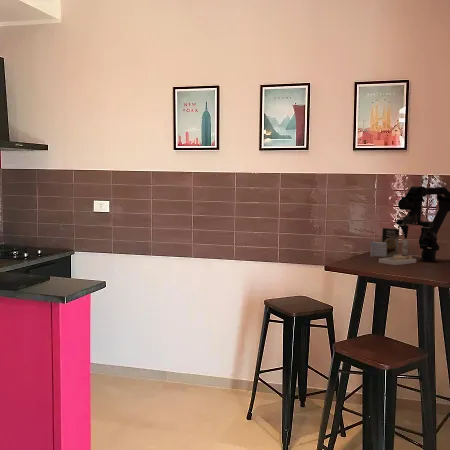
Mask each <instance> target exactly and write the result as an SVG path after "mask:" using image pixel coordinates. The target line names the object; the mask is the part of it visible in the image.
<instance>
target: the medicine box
mask: <svg viewBox="0 0 450 450" xmlns="http://www.w3.org/2000/svg"><path fill="white" fill-rule="evenodd" d="M386 251H387V243H384V242H381V241H370V253H369V254H370V256H369V257H370V258H372V257H382V258H387V256H386Z"/></svg>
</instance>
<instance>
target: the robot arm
mask: <svg viewBox="0 0 450 450" xmlns="http://www.w3.org/2000/svg"><path fill="white" fill-rule="evenodd" d="M428 195H429V196H430V195H436V199H437V201H438V204H437V205H438V209H437V212H436V214H435V215H434V218H433V219H432V220H431V221H430V220H429V221H428V220H425V221H423V220H422V215H423V212H422V208H423V203H424V202H426V200H425V199H424V197H426V196H428ZM397 207H398V208H399V210H401V211H403V210H404V211H408V212H407V215H405V216H403V217H402V218H398V219H397V220H396V222H395V224H396V225H397V226H398V227H400V228H401V230H402V233H403V236H404V240H407V237H408V231H409V225H410V226H411V225H412V226H421V227H420V230H421V232H420V233H421V234H420V235H419V237H418V238H419V239H418V244H419V248H420V249H421V250H422V251H421V255H420V256H421V257H420V261H423V262H429V263H430V262H431V263H433V262H435V263H436V262H438V260H436V259H437V258H436V257H437V255H436V254H437V252H438V251H439V250H440V246H439V244H438V233H439V230H440V228H441V227H442V224H443V223H444V220H445V219H446V216H447V214H448V213H449V212H450V191H449V190H448V189H447V188H446V187H445V186H437V187H426V186H417V185H416V186H415V185H413V186H411V187H410V188H409V190H408V191H407V193H406V194H405V196H401V199H399V201H398V202H397Z"/></svg>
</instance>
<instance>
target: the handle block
mask: <svg viewBox="0 0 450 450" xmlns="http://www.w3.org/2000/svg"><path fill="white" fill-rule="evenodd" d="M409 245H410V240H409V239H408V240H407V239H403V240H402V249H401V250H402V251H401V254H398V255H395V256H393V261H398V260H406V259H413V256H411V255H409V248H410V247H409Z"/></svg>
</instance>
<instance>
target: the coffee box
mask: <svg viewBox="0 0 450 450" xmlns="http://www.w3.org/2000/svg"><path fill="white" fill-rule="evenodd" d="M381 229H382V230H381V239H380V242H384V243H387V251H386V258H390V257H393V256H395V255H399V252H398V250H399V241H400V229H399V228H390V227H382V228H381Z"/></svg>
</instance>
